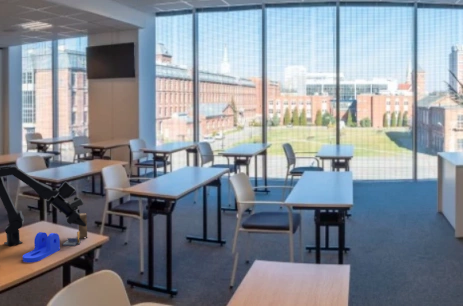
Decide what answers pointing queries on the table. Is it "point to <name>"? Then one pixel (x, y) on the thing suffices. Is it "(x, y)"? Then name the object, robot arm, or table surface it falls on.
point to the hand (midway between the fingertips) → (85, 224)
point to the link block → (81, 228)
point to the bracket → (43, 247)
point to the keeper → (72, 241)
